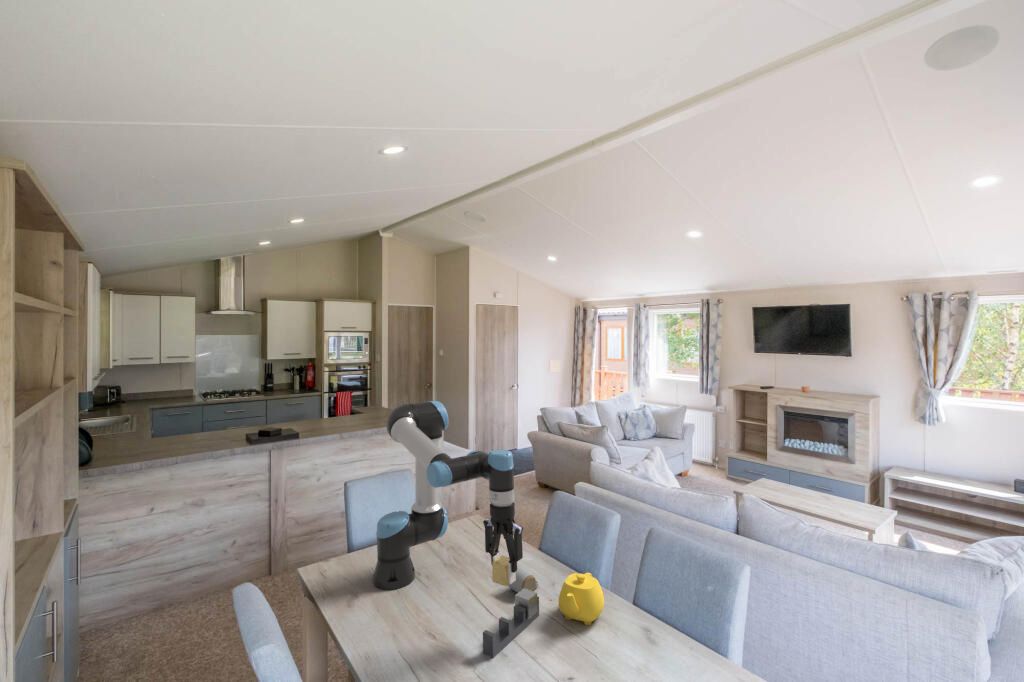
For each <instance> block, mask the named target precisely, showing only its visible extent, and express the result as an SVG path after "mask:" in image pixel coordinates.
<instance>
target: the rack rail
mask: <svg viewBox="0 0 1024 682" xmlns="http://www.w3.org/2000/svg"><path fill="white" fill-rule="evenodd" d="M537 609H538V612H537V613H535V614H534V615H533V616H532V617H531V618H530V619H526V608H523V607H521V606H518V605H515V604H514V606H513V618H512V619H511V620H510V619H507V618H505V617H503V616H501V617H499V618H498V631H497V632H496V633H494V632H492V631H489V630H487V629H485V630H484V631H483V632H482V654H484V655H486V656H488V657H489V658H492V659H494V658H495V657H496V656H498V654H500V653H501V652H502V651H503V650H504V649H505V648H506V647H507V646H508V645H509V644H510V643H512V641H514V639H516V638H517V637H518V636H519V635H521V633H523V631H524V630H525V629H527V627H529V625H531V624H532V623H533V622H534V621H535V620H536V619H538V618H539V616H540V596H538V595H537Z"/></svg>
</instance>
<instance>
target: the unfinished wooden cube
mask: <svg viewBox="0 0 1024 682" xmlns="http://www.w3.org/2000/svg"><path fill="white" fill-rule="evenodd" d="M508 561H510V558H509V556H505V555H500V557H499V558H498V559H496V560H494V561H493V562H492V564H491V566H492V571H491V572H492V583H496V584H499V585H501V586H505V587H508V585H509V584H508Z"/></svg>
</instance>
